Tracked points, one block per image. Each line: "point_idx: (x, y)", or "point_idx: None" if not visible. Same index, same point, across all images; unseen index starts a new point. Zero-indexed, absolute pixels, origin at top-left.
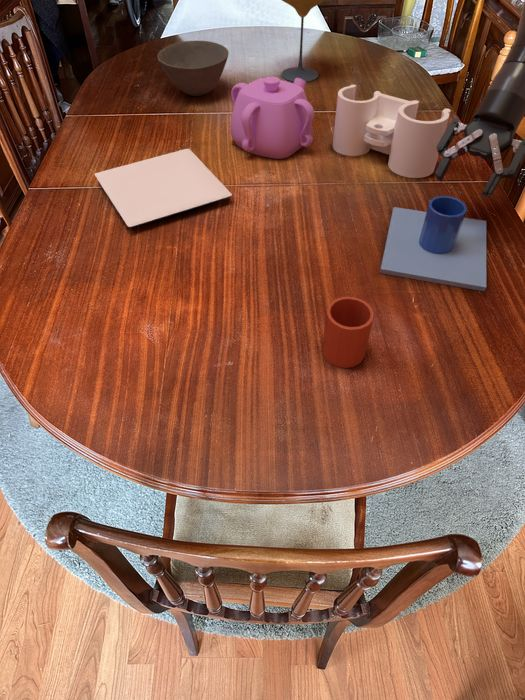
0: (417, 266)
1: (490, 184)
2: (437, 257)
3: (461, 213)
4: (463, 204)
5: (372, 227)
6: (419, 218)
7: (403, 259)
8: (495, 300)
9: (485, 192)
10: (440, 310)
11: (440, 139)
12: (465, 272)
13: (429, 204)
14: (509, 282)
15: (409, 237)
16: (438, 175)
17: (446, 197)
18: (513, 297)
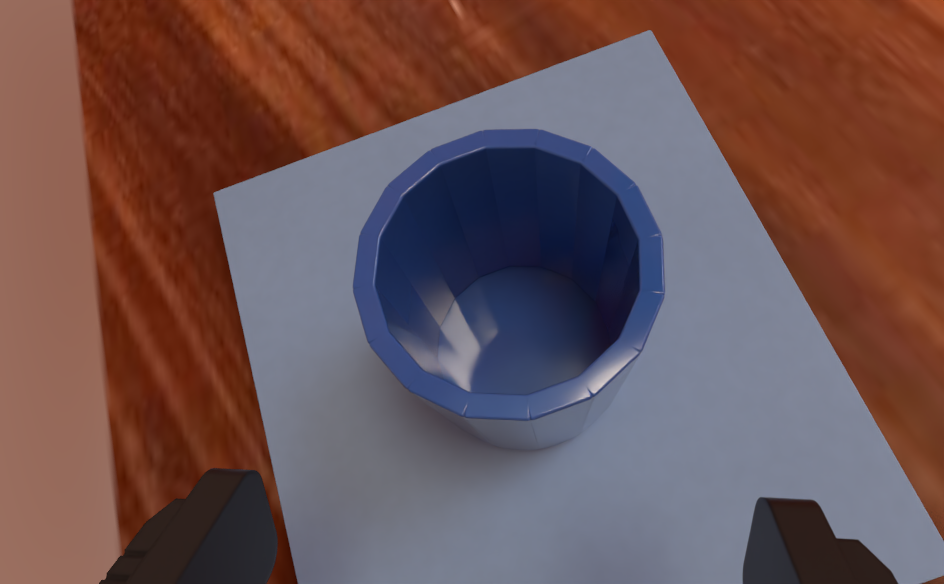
0: None
1: (156, 547)
2: None
3: (375, 233)
4: (402, 363)
5: (911, 321)
6: (728, 535)
7: (600, 137)
8: (177, 184)
9: (216, 471)
10: (347, 21)
11: None
12: (316, 226)
13: (639, 199)
14: (141, 323)
15: (671, 313)
16: (799, 503)
17: (569, 381)
18: (115, 242)
